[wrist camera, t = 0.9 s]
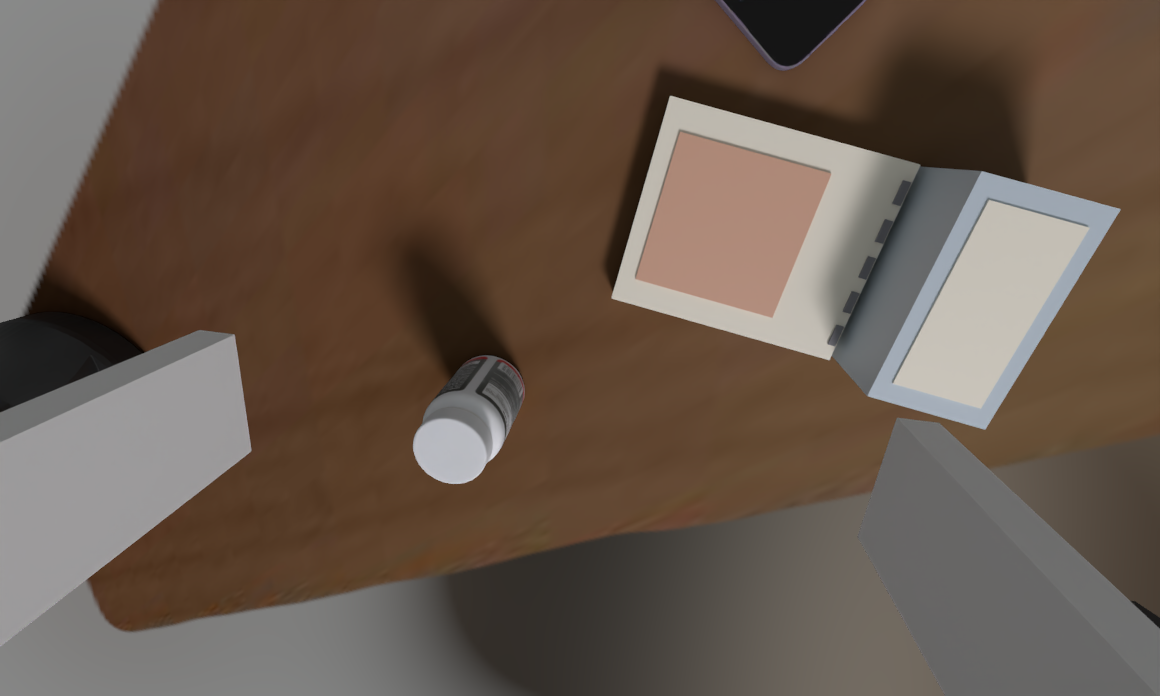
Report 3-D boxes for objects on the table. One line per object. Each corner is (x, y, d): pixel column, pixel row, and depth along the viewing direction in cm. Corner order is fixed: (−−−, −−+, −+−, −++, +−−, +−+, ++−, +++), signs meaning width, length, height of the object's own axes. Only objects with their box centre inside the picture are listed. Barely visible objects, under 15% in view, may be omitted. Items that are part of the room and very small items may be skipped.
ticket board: (612, 291, 33) (611, 299, 31) (669, 98, 29) (670, 95, 27) (821, 351, 33) (830, 361, 31) (907, 163, 29) (922, 164, 27)
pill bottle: (453, 411, 37) (402, 481, 29) (459, 347, 35) (406, 403, 28) (521, 424, 37) (487, 499, 29) (530, 361, 35) (497, 422, 27)
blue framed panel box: (831, 355, 32) (868, 396, 27) (919, 166, 28) (983, 171, 23) (929, 383, 32) (986, 430, 27) (1031, 197, 28) (1122, 209, 23)
